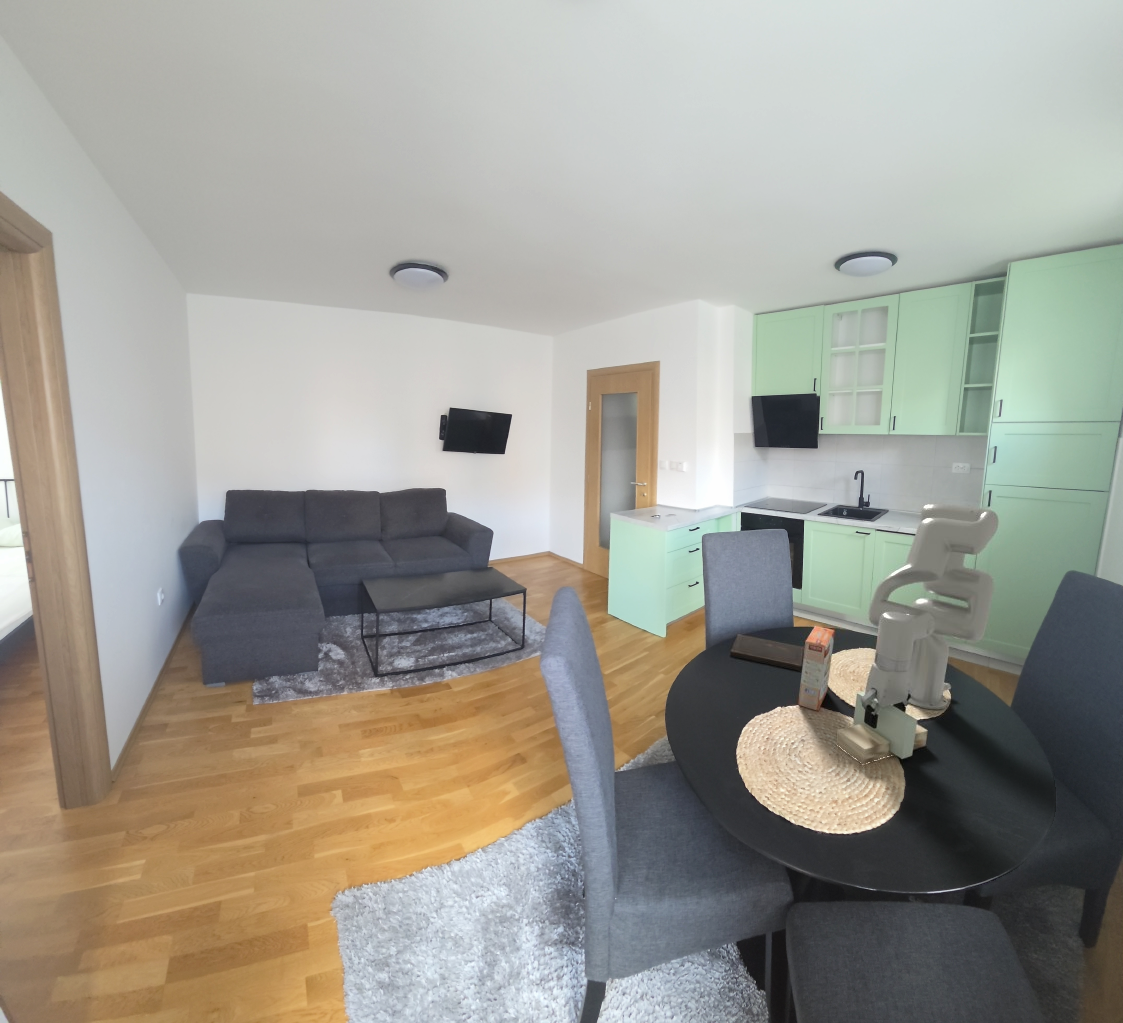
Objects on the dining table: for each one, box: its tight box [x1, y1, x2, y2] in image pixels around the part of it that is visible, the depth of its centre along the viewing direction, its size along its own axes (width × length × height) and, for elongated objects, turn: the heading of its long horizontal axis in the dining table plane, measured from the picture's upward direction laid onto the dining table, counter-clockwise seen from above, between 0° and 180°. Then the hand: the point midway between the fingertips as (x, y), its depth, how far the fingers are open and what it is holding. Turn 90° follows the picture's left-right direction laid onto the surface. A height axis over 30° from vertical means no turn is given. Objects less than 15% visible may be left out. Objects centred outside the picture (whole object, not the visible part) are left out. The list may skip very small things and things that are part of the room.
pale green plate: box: [852, 690, 918, 760], centre depth 130 cm, size 4×14×10 cm, turn 19°
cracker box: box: [798, 625, 836, 712], centre depth 151 cm, size 14×6×21 cm, turn 142°
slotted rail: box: [835, 723, 928, 765], centre depth 131 cm, size 22×8×4 cm, turn 109°
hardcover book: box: [730, 633, 805, 672], centre depth 181 cm, size 16×23×2 cm
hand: (884, 721), depth 130 cm, fingers open, 9 cm apart
